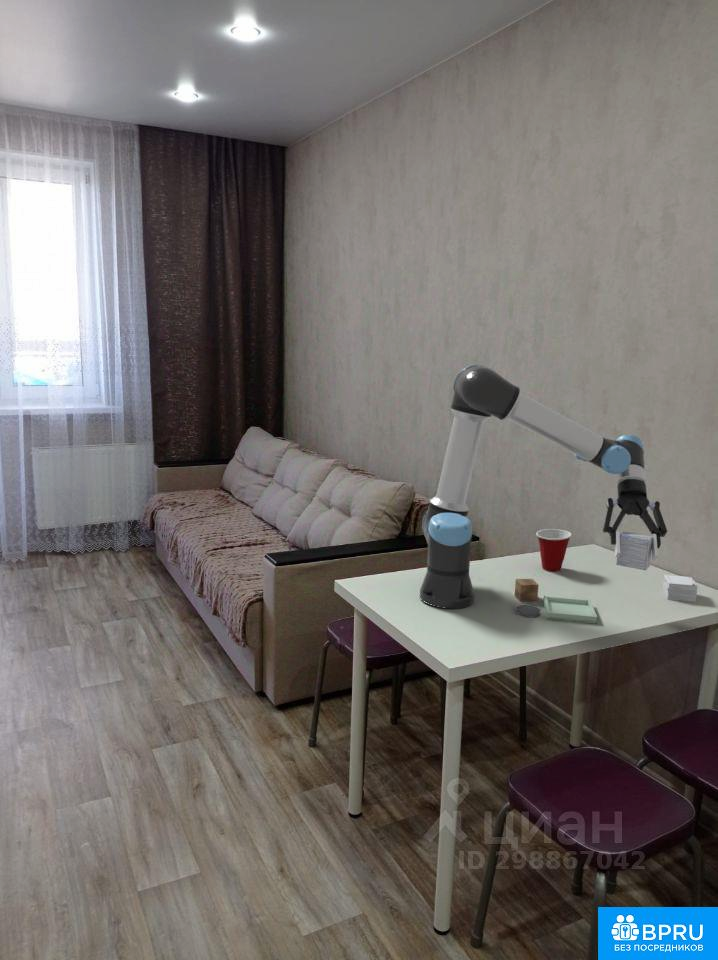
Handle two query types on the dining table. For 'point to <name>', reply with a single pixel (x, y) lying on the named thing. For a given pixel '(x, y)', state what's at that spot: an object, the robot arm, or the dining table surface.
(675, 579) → the small box
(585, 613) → the tray
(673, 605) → the dining table surface
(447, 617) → the dining table surface
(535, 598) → the walnut cube
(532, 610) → the dark grey pebble
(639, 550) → the medicine box
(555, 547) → the plastic cup
